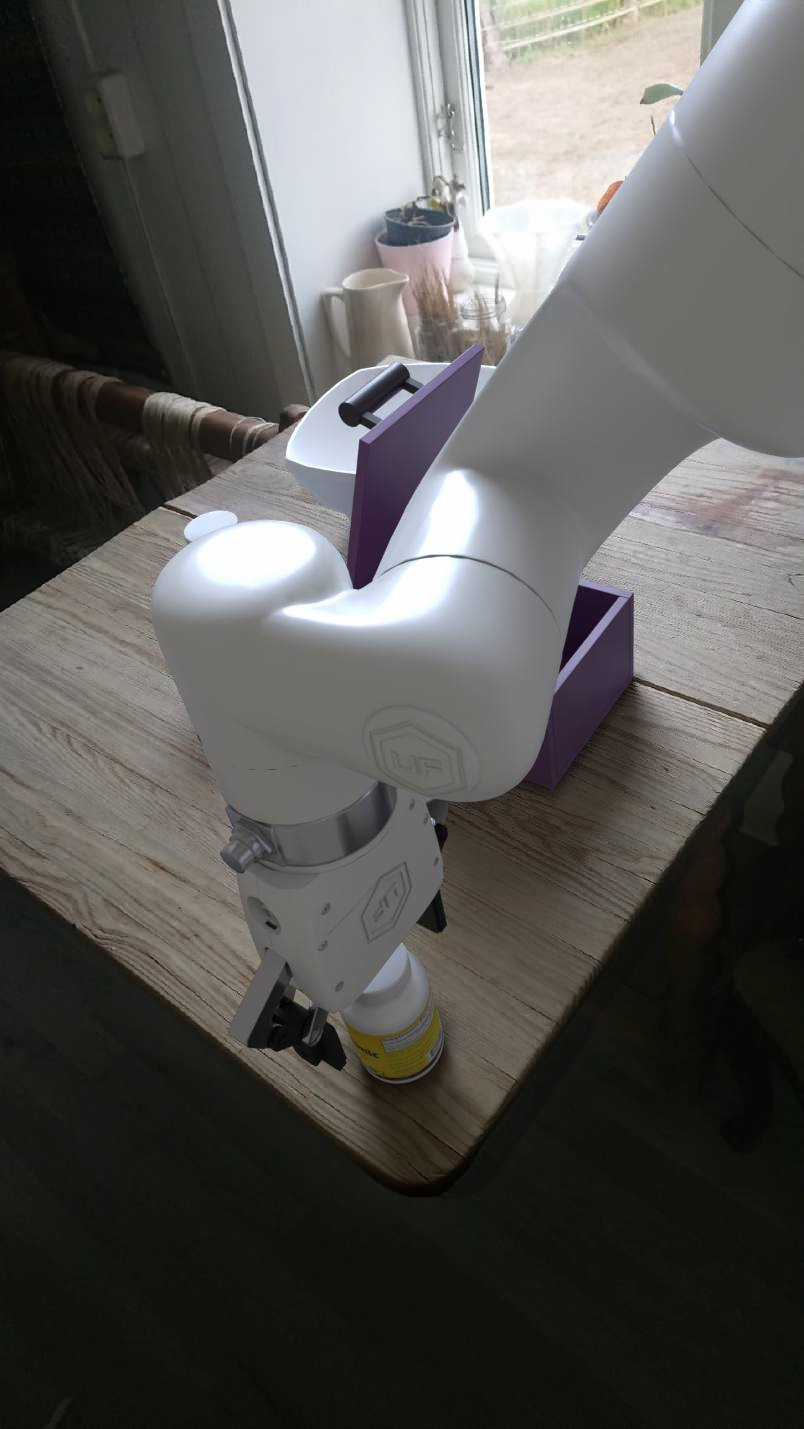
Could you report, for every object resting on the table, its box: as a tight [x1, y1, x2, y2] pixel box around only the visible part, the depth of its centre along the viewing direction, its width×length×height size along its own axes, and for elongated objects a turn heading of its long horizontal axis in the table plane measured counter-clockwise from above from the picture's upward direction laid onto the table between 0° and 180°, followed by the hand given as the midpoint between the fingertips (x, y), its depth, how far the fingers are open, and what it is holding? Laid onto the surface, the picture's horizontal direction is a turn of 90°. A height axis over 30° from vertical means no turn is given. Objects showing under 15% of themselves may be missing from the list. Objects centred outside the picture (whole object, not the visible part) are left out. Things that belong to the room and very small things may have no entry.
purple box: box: [523, 578, 635, 791], centre depth 77 cm, size 18×14×9 cm
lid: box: [338, 342, 485, 590], centre depth 71 cm, size 18×14×5 cm
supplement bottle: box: [339, 941, 445, 1085], centre depth 57 cm, size 5×5×10 cm
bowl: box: [284, 362, 497, 521], centre depth 97 cm, size 22×22×12 cm
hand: (374, 984), depth 55 cm, fingers open, 9 cm apart
